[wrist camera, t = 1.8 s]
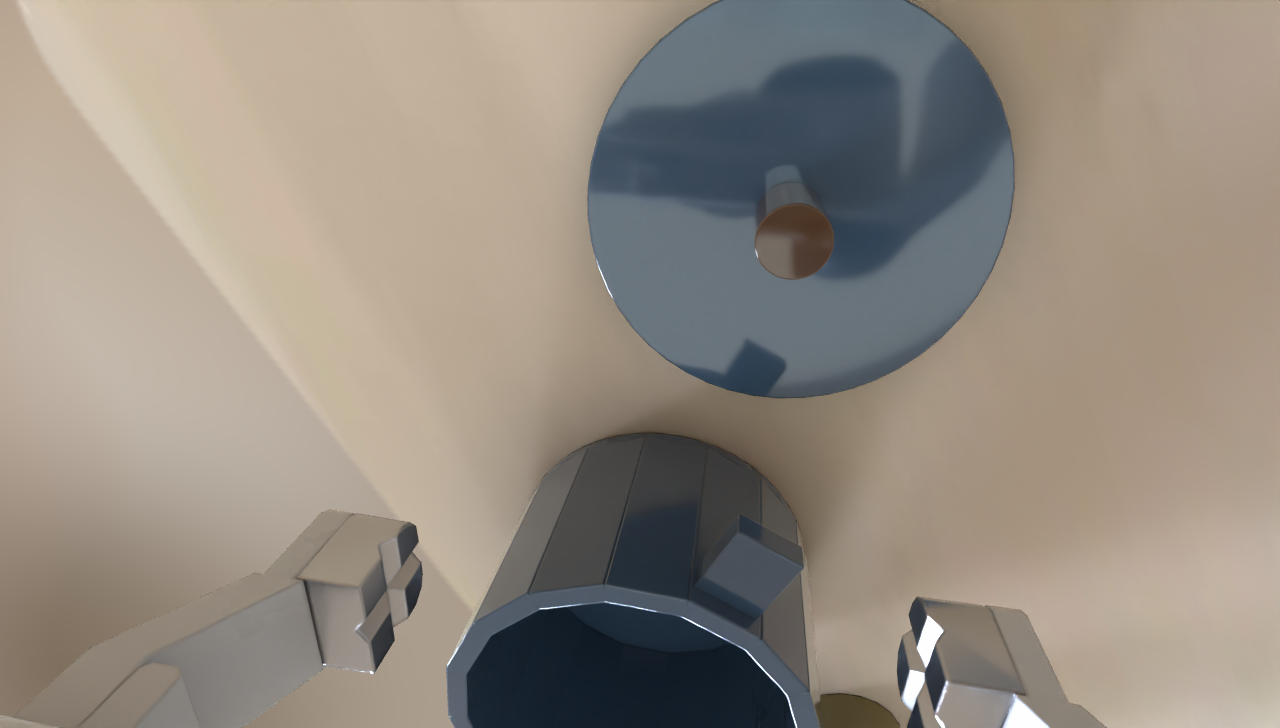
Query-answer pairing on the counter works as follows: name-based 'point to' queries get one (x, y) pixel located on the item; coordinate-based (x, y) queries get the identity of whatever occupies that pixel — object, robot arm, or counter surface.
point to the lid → (800, 192)
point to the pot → (644, 600)
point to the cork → (854, 713)
